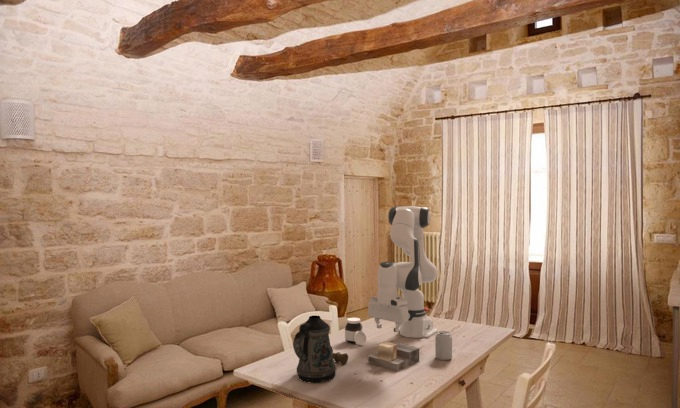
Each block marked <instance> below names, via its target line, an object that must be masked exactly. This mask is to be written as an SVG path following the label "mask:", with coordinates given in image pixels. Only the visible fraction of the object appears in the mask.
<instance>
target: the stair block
mask: <svg viewBox="0 0 680 408" xmlns="http://www.w3.org/2000/svg"><path fill="white" fill-rule="evenodd" d="M388 342H389V343H393V344H397V358H396V359H393V360H391V361H386V360H382V359H379V358H378V351H376V352H375V353H372V354H369V355H367V363H369V364H372V365H374V366H377V367H381V368H384V369H387V370H392V371H394V372H400V371H401V370H404V369H406V368H407V367H410V366H412V365H414V364H416V363H420V347H416V346H414V345H409V344H404V343H400V342H398V341H394V340H389V341H388Z"/></svg>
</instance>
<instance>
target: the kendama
mask: <svg viewBox="0 0 680 408" xmlns="http://www.w3.org/2000/svg"><path fill="white" fill-rule="evenodd" d="M330 346H331V351H332V356H333V360H334V363H338V362H339V363H340V364H341V365H346V364H347V362H348V361H349V355H348V353H341V352H340V351H337V352H334V349H333V346H332V345H331V344H330Z"/></svg>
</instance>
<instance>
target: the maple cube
mask: <svg viewBox="0 0 680 408" xmlns="http://www.w3.org/2000/svg"><path fill="white" fill-rule="evenodd" d="M377 352H378V358H379V359H382V360H386V361H391V360H393V359H396V358H397V344H393V343H389V341H384V342H381V343H380V344H378V345H377Z"/></svg>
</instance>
